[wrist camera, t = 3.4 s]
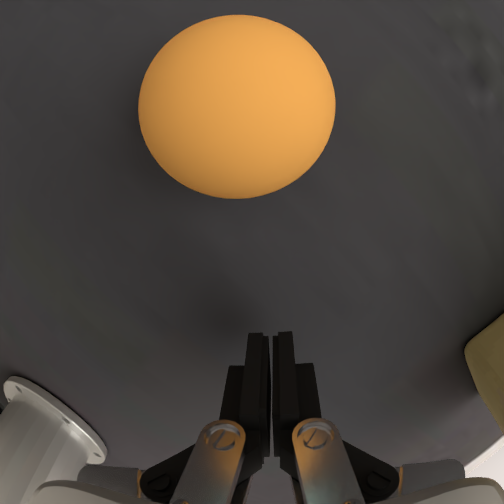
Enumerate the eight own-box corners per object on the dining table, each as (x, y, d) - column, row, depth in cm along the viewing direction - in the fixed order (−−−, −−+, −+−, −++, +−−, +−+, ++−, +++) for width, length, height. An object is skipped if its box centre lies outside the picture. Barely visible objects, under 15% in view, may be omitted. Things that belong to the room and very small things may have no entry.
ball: (233, 214, 11) (207, 271, 6) (147, 114, 10) (63, 96, 5) (343, 130, 10) (412, 116, 5) (253, 29, 8) (244, -52, 3)
